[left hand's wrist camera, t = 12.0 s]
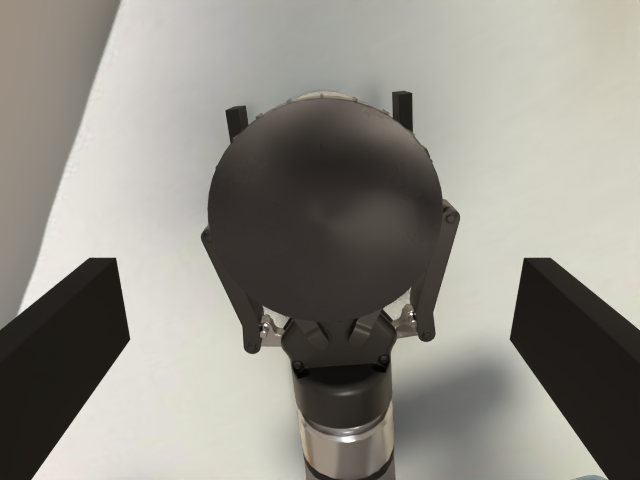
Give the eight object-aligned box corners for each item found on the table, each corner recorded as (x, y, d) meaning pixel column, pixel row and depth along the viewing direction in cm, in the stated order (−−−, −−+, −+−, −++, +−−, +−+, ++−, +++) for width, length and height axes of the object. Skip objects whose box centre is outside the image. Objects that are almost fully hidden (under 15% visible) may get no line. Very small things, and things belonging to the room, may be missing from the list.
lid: (413, 313, 23) (420, 333, 22) (213, 293, 23) (204, 313, 21) (455, 107, 20) (468, 112, 18) (218, 81, 19) (207, 82, 18)
